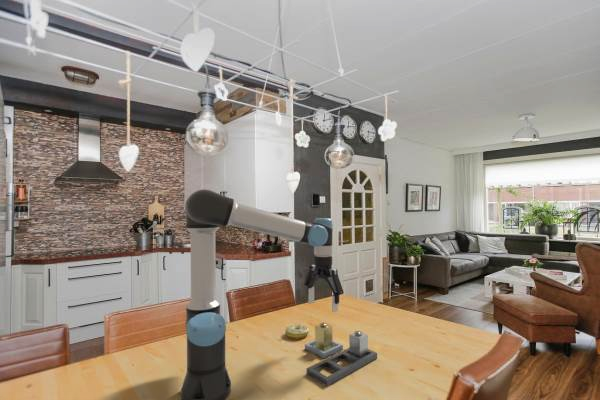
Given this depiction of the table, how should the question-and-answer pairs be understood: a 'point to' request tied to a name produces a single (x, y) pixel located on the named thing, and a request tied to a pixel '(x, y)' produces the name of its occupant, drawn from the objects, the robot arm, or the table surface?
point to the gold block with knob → (323, 337)
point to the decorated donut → (297, 331)
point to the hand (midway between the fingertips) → (322, 307)
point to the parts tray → (335, 349)
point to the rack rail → (339, 366)
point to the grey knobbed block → (358, 344)
